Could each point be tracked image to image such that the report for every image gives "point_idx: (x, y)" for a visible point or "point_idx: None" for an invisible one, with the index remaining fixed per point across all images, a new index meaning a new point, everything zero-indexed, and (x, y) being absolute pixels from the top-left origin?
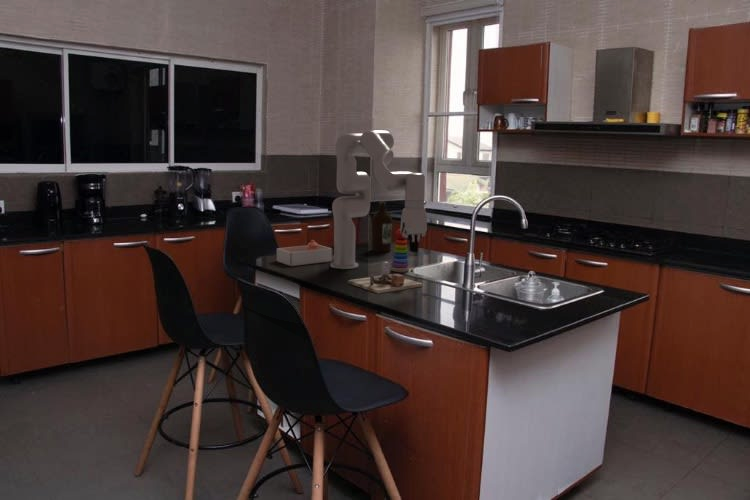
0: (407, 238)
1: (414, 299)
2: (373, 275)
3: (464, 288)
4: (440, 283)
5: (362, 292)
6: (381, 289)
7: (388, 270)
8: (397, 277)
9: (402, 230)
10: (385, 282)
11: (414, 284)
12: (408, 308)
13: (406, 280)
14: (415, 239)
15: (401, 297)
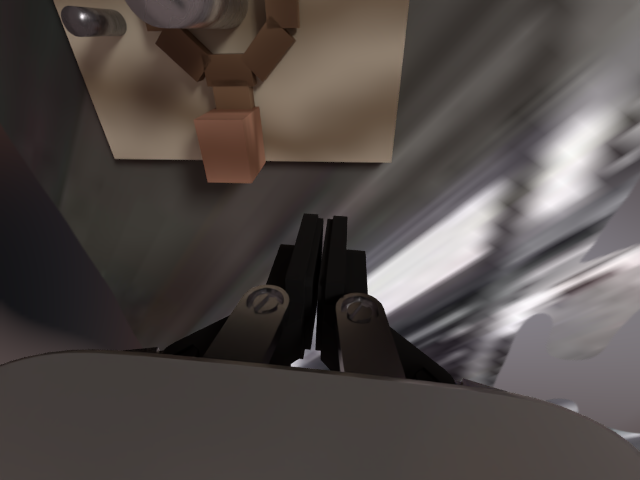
0: (194, 342)
1: (225, 285)
2: (85, 25)
3: (507, 276)
4: (523, 157)
5: (54, 96)
6: (135, 154)
7: (204, 26)
8: (209, 175)
9: (11, 399)
10: (190, 71)
11: (339, 158)
12: (161, 332)
13: (370, 47)
14: (329, 357)
15: (194, 247)
